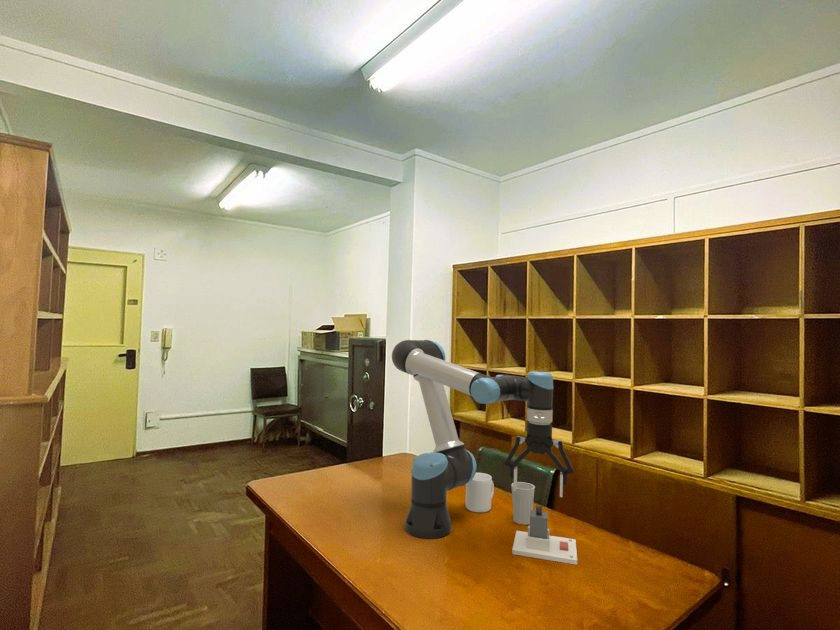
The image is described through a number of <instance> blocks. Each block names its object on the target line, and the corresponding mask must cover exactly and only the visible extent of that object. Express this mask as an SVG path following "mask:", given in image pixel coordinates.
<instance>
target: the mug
mask: <svg viewBox="0 0 840 630" xmlns="http://www.w3.org/2000/svg"><path fill="white" fill-rule="evenodd" d="M492 479H493V478H492V476H491V475H490V474H488V473H484V472H476V473H475V475H474V478H473V479H472V480H471V481H470V482H468V483H467V484H465V508H466V509H467V510H468V511H470V512H473V513H480V514H481V513H487V512H489V511H491V509H492V498H493V497H494V494H495V484H494V481H493V480H492Z"/></svg>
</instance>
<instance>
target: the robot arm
mask: <svg viewBox="0 0 840 630" xmlns="http://www.w3.org/2000/svg"><path fill="white" fill-rule="evenodd" d="M391 361H392V364H393V365H394V367H395V368H396V369H397V370H398V371H400V372H403V373H406V374H408V375H410V376H412V377H413V379H414V381H416V382H418V384H419V387H420V391H421V395H422V399H423V402H424V406H425V410H426V413H427V414H426V415H427V417H428V418H427V419H428V421H429V426H430V429H431V434H432V437H433V441H434V444H435V447H434V450H433V451H432V452H424V453H422V454H419V455H417V456H415V457H414V458H413V461H412V467H411V472H410V473H411V498H410V500H411V501H410V506H409V510H408V513H407V516H406V518H405V524H404V525H405V527H404V528H405V532H406V533H408V534H409V535H411V536H413V537H416V538H421V539H439V538H442V537H446V536H447V535H449V534H450V533H451V531H452V519H451V517H450V513H449V510H448V507H447V492H449V491H452V490H455V489H456V488H459V487H463V486H466V484H467V483H468V482H470V481H471V480H472V479H473V478H474V475H475V473H477V462H476V459H475V458H476V457H475V456H474V455H473V453H472V452H470V451H469V450H467V449H466V445H465V443H464V442H462V441H461V440H460V439H459V436H458V432H457V429H456V425H455V423H454V422H455V421H454V419H453V414H452V411H451V408H450V403H449V400H448V396H447V393H446V390H445V386H446V387H449V388H451V389H453V390H455V391H458V392H460V393H463V394H466V395H468V396H471V397H472V398H473V400H474V401H475V402H476V403H478V404H483V405H484V404H485V405H490V404H494V403H498V402H504V401H510V400H511V401H512V400H514V401H523V402H526V403H527V406H526V410H527V413H526V414H527V415H526V421H528V422H526V436H525V437H524V436H520V435H519V434H518V435H517V436H516V438H515V443H514V445H513V447H512V448H511V451H510V452H509V454H508V456H507V457H506V459H505V462H504V466H506V467H509V468H510V471H509V472H510V477H509V478H510V479H511V480H512V479H513V483H514V490H513V491H516V489H517V482H518V466H517V465H518V464H520V462H521V461H522V460H523V459H525V457H526V456H527V455H528V454H530V453H533V454H541V455H545V454H547V456H548V457H550V459H551V460H552V462H553V463H554V464H555V465H556V466H557V468H558V469H559V471H560V473H559V474H560V475H559V498H563V491H564V488H563V487H564V486H567V485H568V483H567V482H568V479H567V478H568V475H569V474H571V475H572V474H573V473H574V468H573V465H572V464H571V462H570V459H569V457H568V455H567V452H566V451H565V448H564V446H563V440H562V439H558V440H553V425H552V423H553V413H554V411H553V409H554V408H553V401H554V400H553V399H554V376H553V374H552V373H550V372H546V371H529V372H528V373H527V374H528V375H527V376H524V377H523V376H517V375H510V374H497V375H495V376H489V375H486V374H482V372H477V371H476V370H475V371H474V370H472V369H469V368H466V367H464V366H460V365H458V364H455V363H453V362H450V361H448V360H446V352H445V350H444V348H443V346H442V345H441V344H440V343H438V342H437V341H433V340H430V339H423V340H419V339H405V340H401V341H399V342H398V343H397V344H396V345H395V346H394V347H393V349H392V352H391ZM523 442H524V443H525V444H526V446H527V447H526V448H525V449H524V450H523V451H522V452H521V453H520V454H519V455H518V456H517V457H515V459H514V460H513V461H511V460H512V459H513V457H514V455H515V454H516V452H517V450H518V448H519V447H520V445H522V444H523ZM553 446H555V448H557V449H558V450H559V453H560V455H561V457H562V459H563V462H564V464H565V466H566V467H565V466H564V465H563V463H562V461H561V460H560V459H559V458H558V457H557V456H556V454H555V453H554V452H553V450H552V447H553Z"/></svg>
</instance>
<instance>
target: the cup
mask: <svg viewBox="0 0 840 630" xmlns="http://www.w3.org/2000/svg"><path fill="white" fill-rule="evenodd" d="M510 487H511V495H512V496H511V497H512V498H511V499H512V515H513V516H512V519H513V520H512V521H513V522H514V523H516V524H519V525H530V513H531V510H532V511H534V499H535V489H536V486H535V485H534V484H532V483H528V482H524V481H517V489H516V491H513V490H514V482H512V483H511V486H510Z"/></svg>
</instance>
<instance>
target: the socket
mask: <svg viewBox="0 0 840 630" xmlns="http://www.w3.org/2000/svg"><path fill="white" fill-rule="evenodd" d="M511 549H512V551H511V553H512V555H515V556H516V555H517V556H523V557H528V558H534V559H541V560H546V561H552V562H560V563H564V564H571V565H577V566H578V551H577V542H576V538H575V539H574V538H567V537H562V536H555V535H550V528H548V531H547V539H542V538H536V537H530V525H528V526H527V531H521V530H516V532H515V536H514V541H513V545H512V548H511Z"/></svg>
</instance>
